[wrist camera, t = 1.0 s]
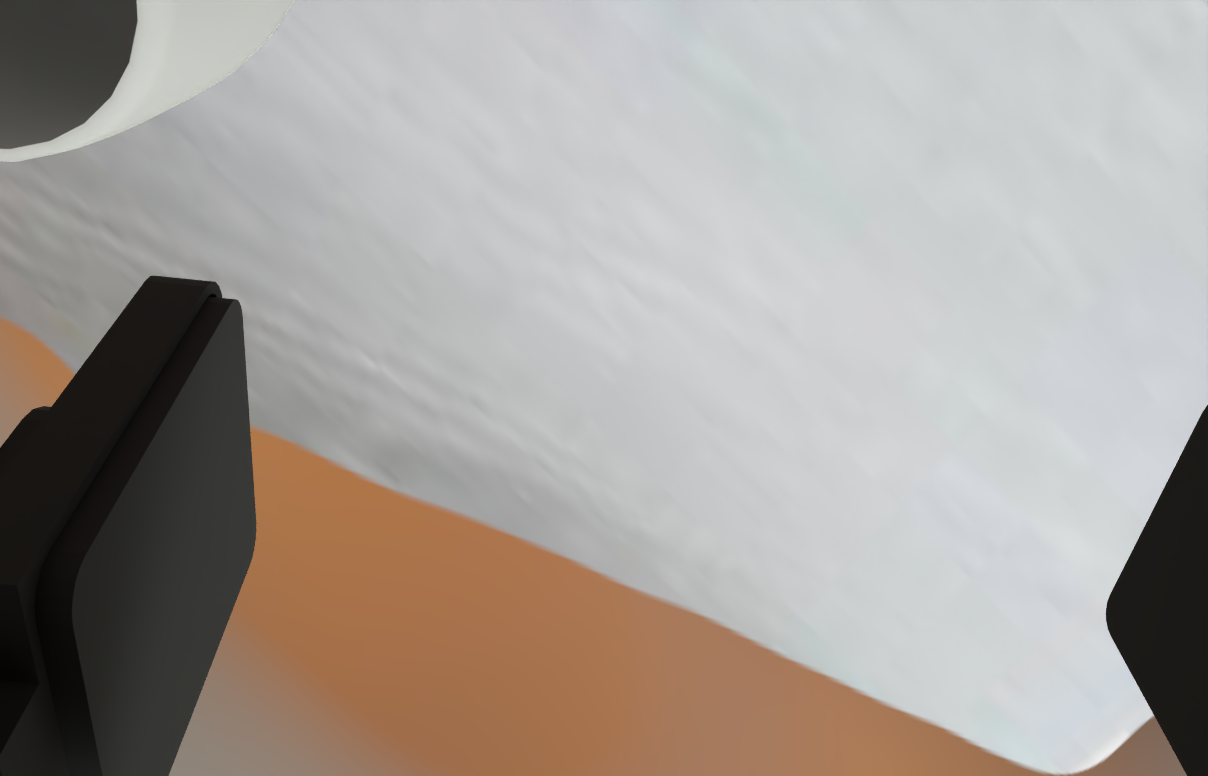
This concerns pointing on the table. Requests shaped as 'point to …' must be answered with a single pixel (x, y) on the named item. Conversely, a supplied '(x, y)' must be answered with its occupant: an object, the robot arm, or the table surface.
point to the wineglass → (114, 63)
